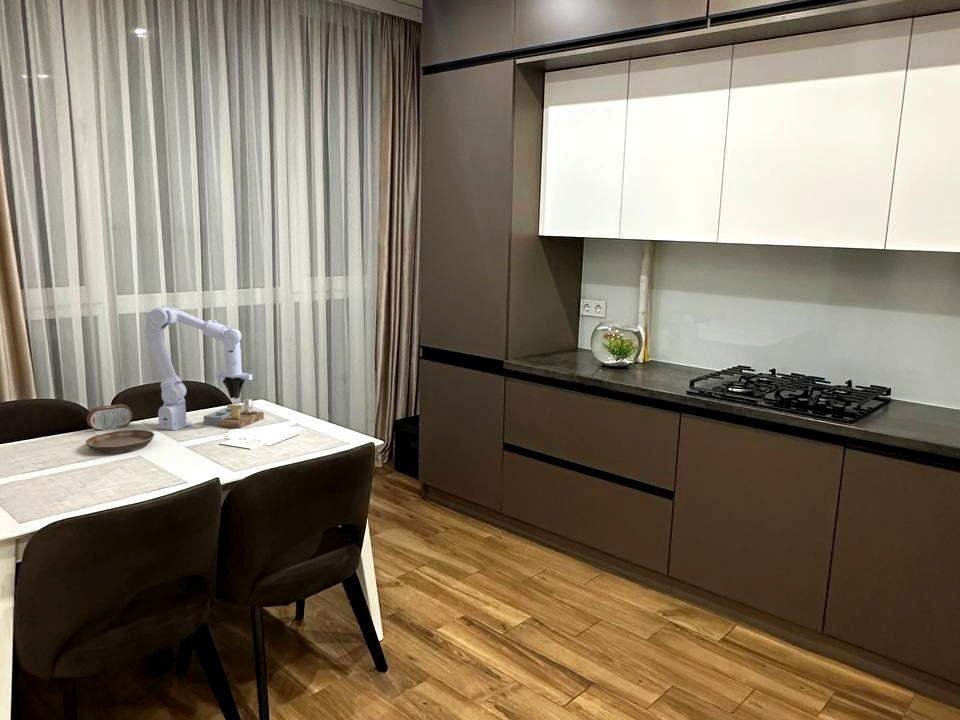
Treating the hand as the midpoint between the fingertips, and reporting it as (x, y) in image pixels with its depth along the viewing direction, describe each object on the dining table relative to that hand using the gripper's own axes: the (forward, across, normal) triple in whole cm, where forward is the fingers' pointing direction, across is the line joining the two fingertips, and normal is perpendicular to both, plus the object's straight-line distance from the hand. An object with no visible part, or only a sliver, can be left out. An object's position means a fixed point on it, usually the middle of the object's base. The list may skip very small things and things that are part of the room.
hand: (234, 397), depth 269 cm
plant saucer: (+11, +20, +35) cm, 42 cm away
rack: (+10, +9, -8) cm, 16 cm away
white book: (+11, -18, +10) cm, 23 cm away
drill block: (+10, 0, -4) cm, 11 cm away
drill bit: (+10, 0, -8) cm, 13 cm away
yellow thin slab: (+8, 0, 0) cm, 8 cm away
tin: (+11, +40, +18) cm, 45 cm away
